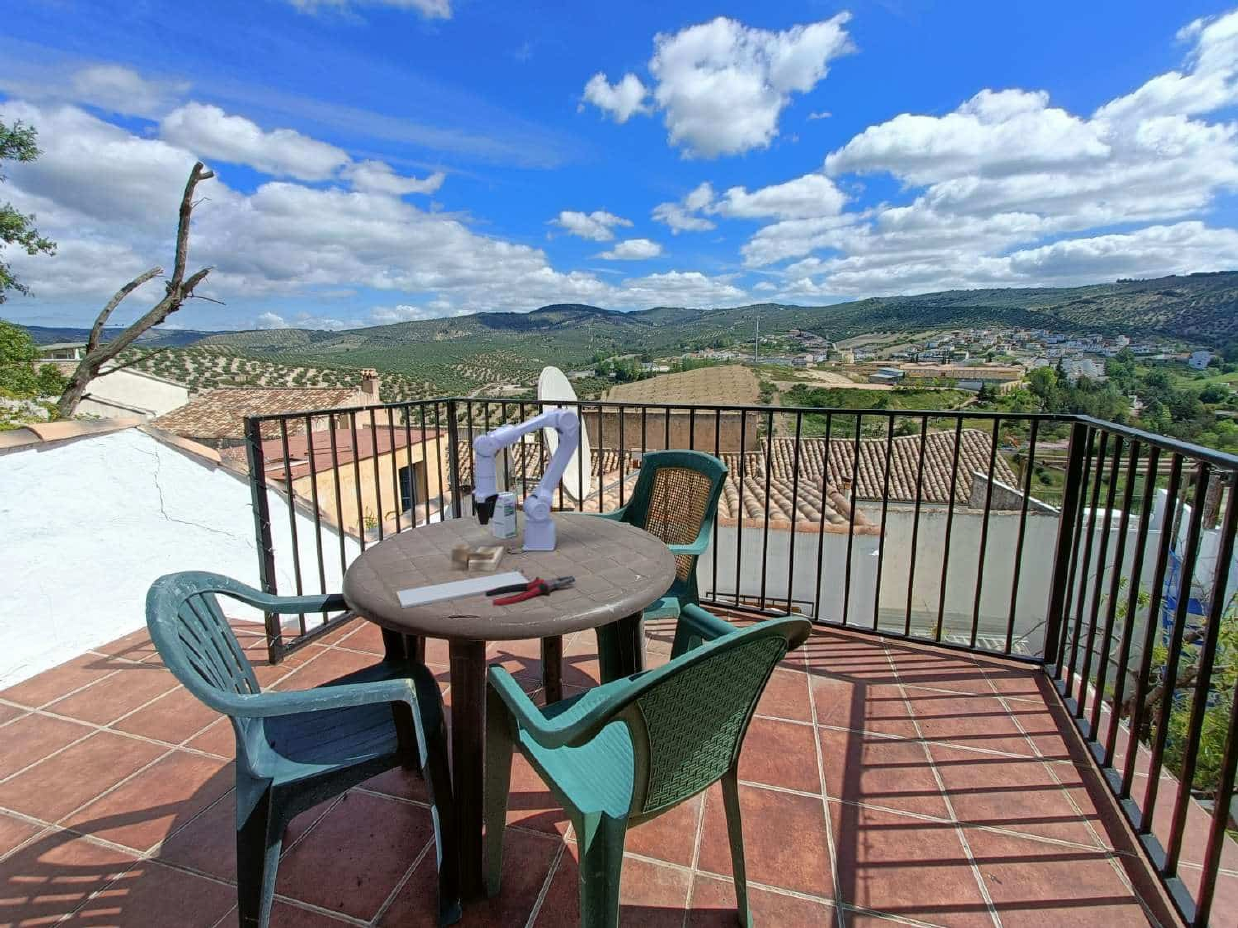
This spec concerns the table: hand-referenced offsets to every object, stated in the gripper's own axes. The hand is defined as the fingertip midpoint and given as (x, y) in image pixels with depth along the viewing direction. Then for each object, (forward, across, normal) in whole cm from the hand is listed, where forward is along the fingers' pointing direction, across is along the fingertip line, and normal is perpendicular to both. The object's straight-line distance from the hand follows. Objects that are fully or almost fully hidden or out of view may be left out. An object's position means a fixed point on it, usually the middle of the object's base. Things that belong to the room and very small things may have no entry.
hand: (486, 521), depth 170 cm
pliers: (+10, +31, +18) cm, 37 cm away
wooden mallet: (+10, +13, -1) cm, 16 cm away
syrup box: (+10, -18, +2) cm, 21 cm away
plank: (+10, +8, +2) cm, 13 cm away
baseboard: (+11, +28, 0) cm, 30 cm away
